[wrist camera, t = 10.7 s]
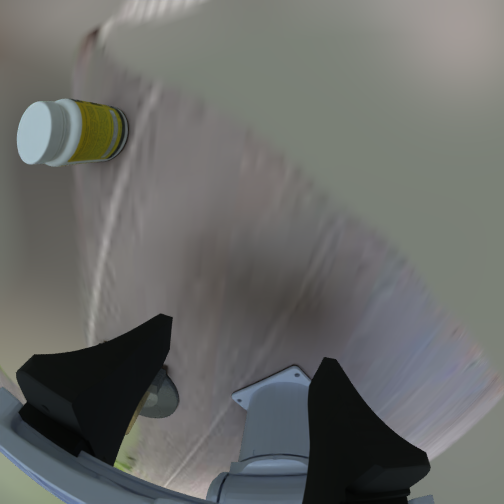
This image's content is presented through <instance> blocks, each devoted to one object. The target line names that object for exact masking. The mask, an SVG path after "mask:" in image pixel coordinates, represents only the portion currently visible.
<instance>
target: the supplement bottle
mask: <svg viewBox="0 0 504 504" xmlns="http://www.w3.org/2000/svg"><path fill="white" fill-rule="evenodd" d="M127 134H128V125H127V121H126V118H125V116H124V114H123V113H122V112H121V111H120V110H119V109H117V108H115V107H112V106H107V105H102V104H97V103H92V102H85V101H79V100H73V99H60V100H57V101H55V102H52V101H48V102H47V101H46V102H45V101H39V102H35V103H33V104H32V105H31V106H29V108H28V109H27V110H26V111H25V113H24V114H23V116H22V118H21V121H20V124H19V127H18V133H17V147H18V152H19V155H20V157H21V159H22V160H23V161H24V162H25V163H27V164H42V163H45V164H47V165H49V166H54V167H56V166H66V165H73V164H82V163H92V162H103V161H107V160H110V159H112V158H113V157H115V156H116V155H117V154H118V153H119V152H120V151H121V150H122V148H123V146H124V144H125V142H126V139H127Z"/></svg>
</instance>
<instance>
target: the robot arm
mask: <svg viewBox="0 0 504 504" xmlns="http://www.w3.org/2000/svg"><path fill="white" fill-rule="evenodd" d="M172 319H173V317H170V316H167V315H164V314H159V315H157V316H155V317H153V318H152V319H150V320H148V321H147V322H145V323H143V324H142V325H140V326H138V327H136V328H134V329H133V330H131V331H129V332H127V333H125V334H123V335H121V336H119V337H117V338H114V339H112V340H110V341H107V342H105V343H102V344H99V345H96V346H93V347H89V348H85V349H81V350H77V351H72V352H66V353H58V354H38V355H37V354H34V355H33V356H32V357H31V358H30V359H29V360H28V361H27V362H26V363H25V364H24V365H23V366H22V367H21V368H20V369H19V370H18V371H17V372H16V378H17V381H18V384H19V386H20V388H21V390H22V392H23V394H24V396H25V398H26V400H27V402H26V403H25V405H24V406H23V404H22V403H21V402H20V401H19V400H18V399H17V398H16V397H14V396H13V395H12V394H11V393H10V392H9V391H7V390H6V389H5V388H4V387H2V388H1V389H0V451H1V452H2V454H4V455H5V456H6V457H7V458H8V459H9V460H10V461H11V462H13V463H14V464H15V465H16V466H17V467H18V468H19V469H21V470H22V471H23V472H24V473H26V474H27V475H28V476H29V477H31V478H32V479H33V480H34V481H35V482H37V483H38V484H39V485H41V486H42V487H43V488H45V489H46V490H48V491H49V492H50V493H52V494H53V495H55V496H56V497H58V498H59V499H61V500H62V501H64V502H65V503H67V504H434V500H433V495H427V496H423V497H419V498H415V499H412V500H409V501H407V496H408V495H410V487H411V486H413V485H414V484H415V483H417V482H418V481H419V480H421V479H422V478H424V477H425V476H426V475H427V474H428V472H429V471H430V468H431V467H430V463H429V460H428V457H427V454H426V452H424V451H422V450H421V449H419V448H417V447H415V446H414V445H412V444H410V443H409V442H407V441H406V440H405V439H403V438H402V437H400V436H399V435H398V434H396V433H395V432H394V431H393V430H392V429H390V428H389V427H388V426H387V425H386V424H385V423H384V422H383V421H382V420H381V419H380V418H379V417H378V416H377V415H376V414H375V413H374V412H373V411H372V410H371V408H370V407H369V406H368V405H367V404H366V402H365V401H364V400H363V398H362V397H361V396H360V394H359V393H358V392H357V390H356V389H355V387H354V386H353V384H352V383H351V381H350V380H349V378H348V377H347V375H346V374H345V372H344V371H343V369H342V367H341V366H340V364H339V363H338V361H337V360H336V359H332V358H327V357H324V358H323V360H322V362H321V364H320V366H319V368H318V370H317V372H316V374H315V375H314V377H313V379H312V381H311V380H310V379H309V378H308V377H307V376H306V375H305V374H304V373H303V371H302V370H301V369H300V368H299V367H297V366H292V367H290V368H288V369H285V370H283V371H281V372H279V373H277V374H275V375H273V376H271V377H269V378H267V379H264V380H262V381H260V382H258V383H256V384H253V385H251V386H249V387H247V388H244V389H242V390H240V391H237V392H235V393H233V394H232V399H233V400H234V401H236V402H237V403H238V404H239V405H240V406H242V407H243V408H244V409H245V410H247V417H246V422H245V428H244V433H243V439H242V444H241V449H240V455H239V460H238V462H232V463H231V467H230V471H229V472H222V473H220V474H219V475H218V476H217V477H216V478H215V479H214V480H213V481H212V483H211V484H210V487H209V489H208V492H207V496H206V500H204V499H200V498H196V497H193V496H189V495H185V494H182V493H179V492H176V491H173V490H169V489H166V488H164V487H161V486H158V485H155V484H152V483H150V482H147V481H145V480H142V479H140V478H137V477H135V476H132V475H130V474H128V473H126V472H123V471H121V470H119V469H117V468H115V467H113V466H114V463H115V460H116V457H117V454H118V451H119V449H120V446H121V443H122V440H123V438H124V436H125V433H126V431H127V429H128V426H129V424H130V422H131V419H132V417H133V415H134V413H135V411H136V408H137V406H138V404H139V403H140V401H141V399H142V397H143V396H144V394H145V393H146V391H147V389H148V388H149V386H150V385H151V383H152V382H153V380H154V378H155V377H156V375H157V374H158V372H159V370H160V369H161V367H162V365H163V363H164V361H165V359H166V357H167V354H168V352H169V350H170V340H171V329H172ZM296 373H299V374H296ZM240 399H241V400H240Z"/></svg>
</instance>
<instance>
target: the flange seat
mask: <svg viewBox="0 0 504 504" xmlns="http://www.w3.org/2000/svg"><path fill="white" fill-rule="evenodd" d="M99 344H101V343H99ZM99 344H98V345H99ZM147 391H148V392H150V395H149V397H148V399H147V400H146V402H145V404H144V406H143V408H142V410H141V412H140V413H139V415H142V416H145V417H150V418H164V417H168V416H170V415H171V414H173V413H174V411H175V409H176V407H177V405H178V401H179V396H178V392H177V389H176V387H175V385H174V384H173V382H172V381H171V379H170V378H169V377H168V376H167V375H166V370H164V369H160V370H159V372H158V374H157V375H156V377H155V378H154V380H153V382H152V383H151V385H150V386H149V388H148V389H147Z"/></svg>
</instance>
